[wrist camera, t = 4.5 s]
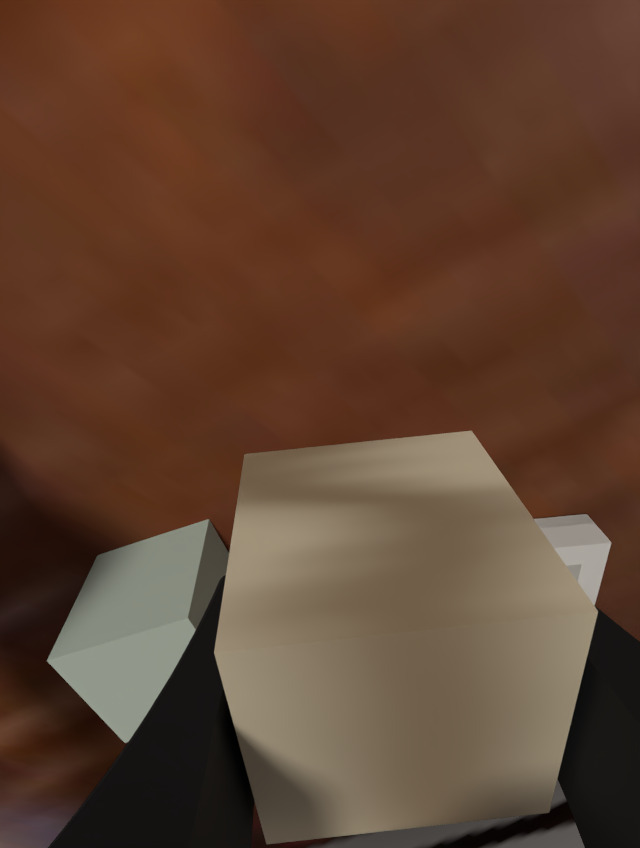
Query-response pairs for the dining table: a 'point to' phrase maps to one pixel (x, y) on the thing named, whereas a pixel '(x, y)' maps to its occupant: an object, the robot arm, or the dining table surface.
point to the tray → (579, 548)
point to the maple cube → (395, 639)
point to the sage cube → (138, 621)
